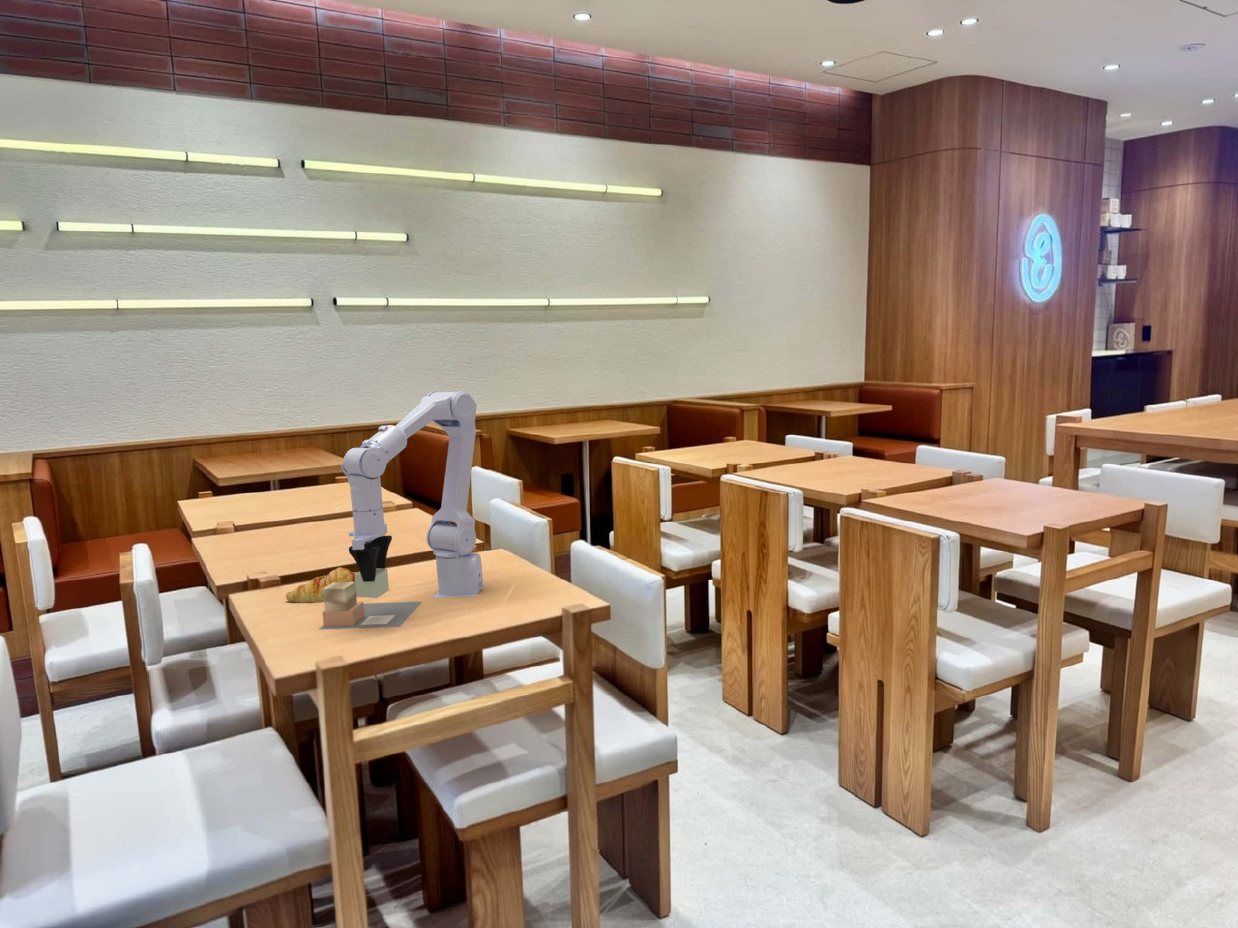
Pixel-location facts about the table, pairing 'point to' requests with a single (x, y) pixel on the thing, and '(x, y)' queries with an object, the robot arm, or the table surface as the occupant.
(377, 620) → the board
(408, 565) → the table surface
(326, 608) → the maple cube
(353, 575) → the croissant
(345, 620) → the terracotta slab
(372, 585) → the sage cube
